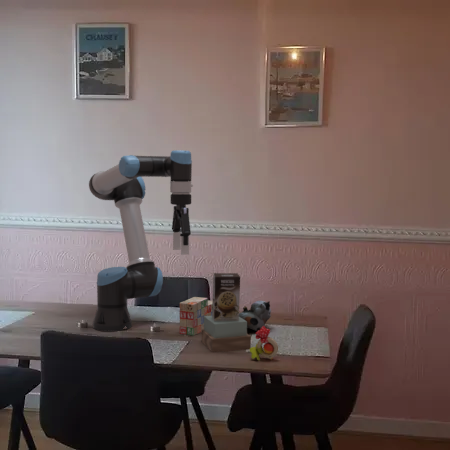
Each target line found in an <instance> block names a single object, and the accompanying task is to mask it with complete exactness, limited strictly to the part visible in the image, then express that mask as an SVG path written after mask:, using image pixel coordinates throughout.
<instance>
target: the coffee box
mask: <svg viewBox="0 0 450 450" xmlns="http://www.w3.org/2000/svg"><path fill="white" fill-rule="evenodd" d="M212 278H213V279H212V280H213V281H212V301H213V302H212V317H213V320H214V321H239V313H240V300H241V299H240V295H241V293H240V292H241V275H240V274H239V273H237V272H236V273H235V272H234V273H233V272H232V273H231V272H227V273H225V272H221V273H220V272H214V273H213V277H212Z"/></svg>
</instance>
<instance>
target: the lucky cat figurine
mask: <svg viewBox="0 0 450 450" xmlns="http://www.w3.org/2000/svg"><path fill="white" fill-rule="evenodd" d="M270 302H271V300H270V301H267V302H266V301H265V300H257V301H254V302H253V303H252V304H251V305H250V308H249V309H248V307H247V306H246V305H244V307H243V308H242V311H241V312H239V317H240V318H242V319H244V320H245V321H247V329H250V330H253V331H256V332H257V331H259V330H260V329H261V328H262V327H263V326H264V327H265V328H266V323H267V322H268V320H269V319H270V318H272V317H271V316H272V315H271V313H272V309H271V304H270Z"/></svg>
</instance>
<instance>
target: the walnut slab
mask: <svg viewBox="0 0 450 450" xmlns="http://www.w3.org/2000/svg"><path fill="white" fill-rule="evenodd" d="M251 337H252V336H251V335H249V334H248V333H247V335H245V336H235V337H224V338H214V337H212V336H211V335H210V334H209V333H207V332H206V331H205V330H204V329H202V332H201V343H202V344H203V345H205V347H206V348H207V349H209V350H210V351H211V352H212V353H219V352H220V353H221V352H230V351H241V350H243V351H244V350H250V348H251V347H252V346H251V345H252V343H251V342H252V338H251Z"/></svg>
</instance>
